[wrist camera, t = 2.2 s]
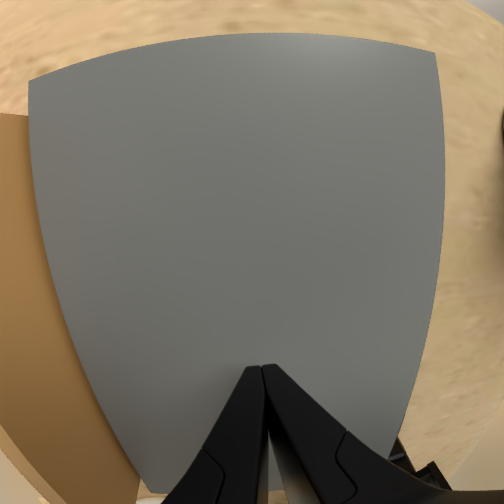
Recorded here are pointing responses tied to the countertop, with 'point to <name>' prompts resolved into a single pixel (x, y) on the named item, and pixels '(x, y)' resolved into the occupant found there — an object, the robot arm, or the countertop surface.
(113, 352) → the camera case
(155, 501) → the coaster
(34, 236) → the side door
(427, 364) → the countertop surface
